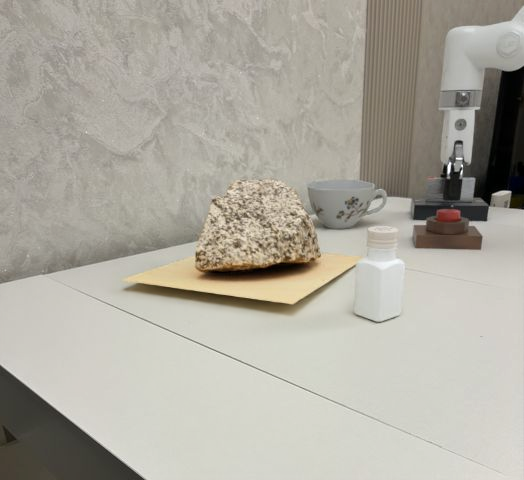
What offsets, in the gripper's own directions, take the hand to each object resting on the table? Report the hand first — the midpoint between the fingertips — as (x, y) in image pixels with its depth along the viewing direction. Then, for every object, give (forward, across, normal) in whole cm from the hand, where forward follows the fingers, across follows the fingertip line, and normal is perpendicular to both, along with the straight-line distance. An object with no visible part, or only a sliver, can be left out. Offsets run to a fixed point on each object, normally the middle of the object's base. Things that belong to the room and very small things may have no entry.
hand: (448, 196), depth 111 cm
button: (0, -25, +3) cm, 25 cm away
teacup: (+4, -12, +20) cm, 24 cm away
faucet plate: (+4, 0, 0) cm, 4 cm away
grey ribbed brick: (+1, 0, 0) cm, 1 cm away
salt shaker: (+4, -61, +14) cm, 63 cm away
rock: (+4, -46, +31) cm, 56 cm away
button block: (+4, -25, +3) cm, 25 cm away
